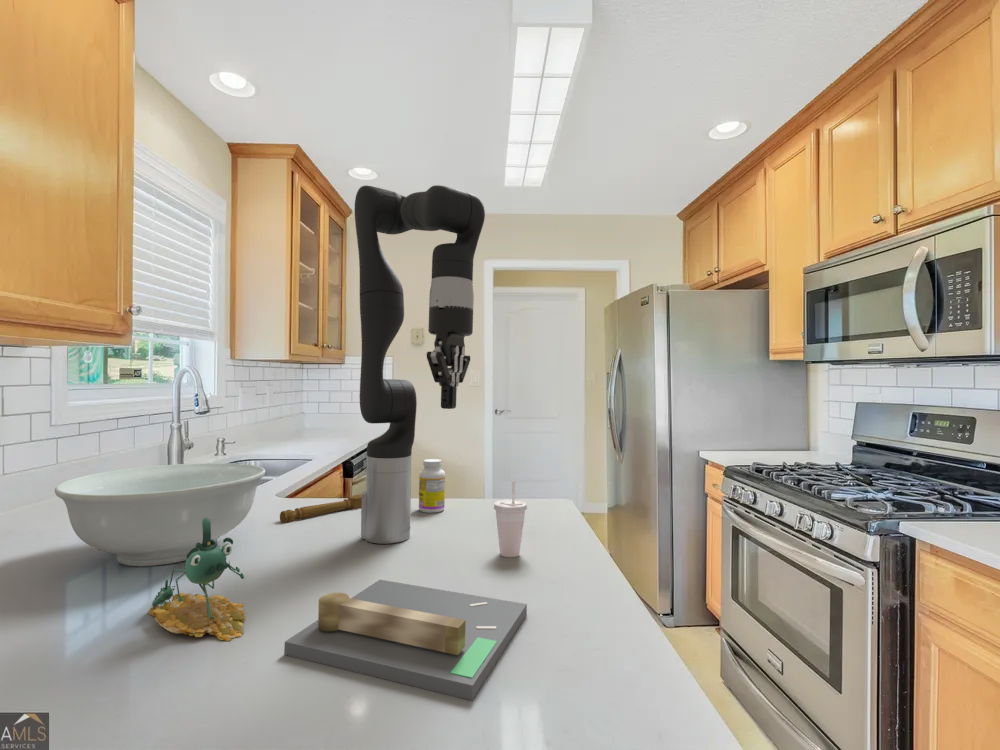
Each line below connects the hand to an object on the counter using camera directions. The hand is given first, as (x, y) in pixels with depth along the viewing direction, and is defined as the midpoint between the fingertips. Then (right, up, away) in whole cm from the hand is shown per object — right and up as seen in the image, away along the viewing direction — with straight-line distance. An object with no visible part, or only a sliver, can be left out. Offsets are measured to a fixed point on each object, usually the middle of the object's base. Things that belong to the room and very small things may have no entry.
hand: (448, 408), depth 83 cm
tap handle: (-32, -29, +41) cm, 60 cm away
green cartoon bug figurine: (-32, -28, -17) cm, 45 cm away
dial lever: (-5, -26, -24) cm, 36 cm away
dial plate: (-2, -28, -20) cm, 34 cm away
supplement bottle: (-9, -29, +43) cm, 53 cm away
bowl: (-54, -28, +8) cm, 61 cm away
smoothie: (+11, -29, +10) cm, 33 cm away
